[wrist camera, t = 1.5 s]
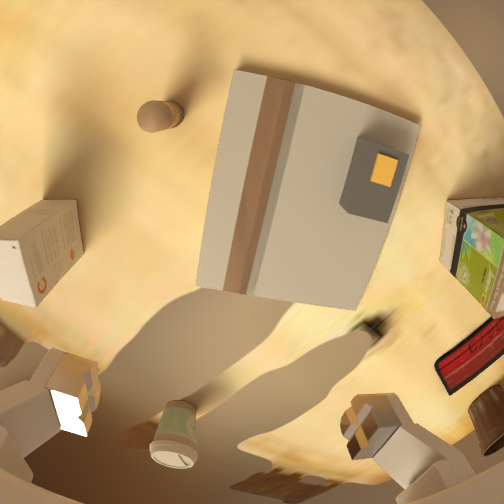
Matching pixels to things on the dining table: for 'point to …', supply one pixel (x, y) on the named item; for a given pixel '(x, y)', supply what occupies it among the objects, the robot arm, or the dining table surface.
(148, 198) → the dining table surface
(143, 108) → the peg
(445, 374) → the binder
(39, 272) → the small box
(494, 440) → the plant pot
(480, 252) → the tea box
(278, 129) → the floor panel
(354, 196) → the grey rectangular block
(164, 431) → the coffee cup
